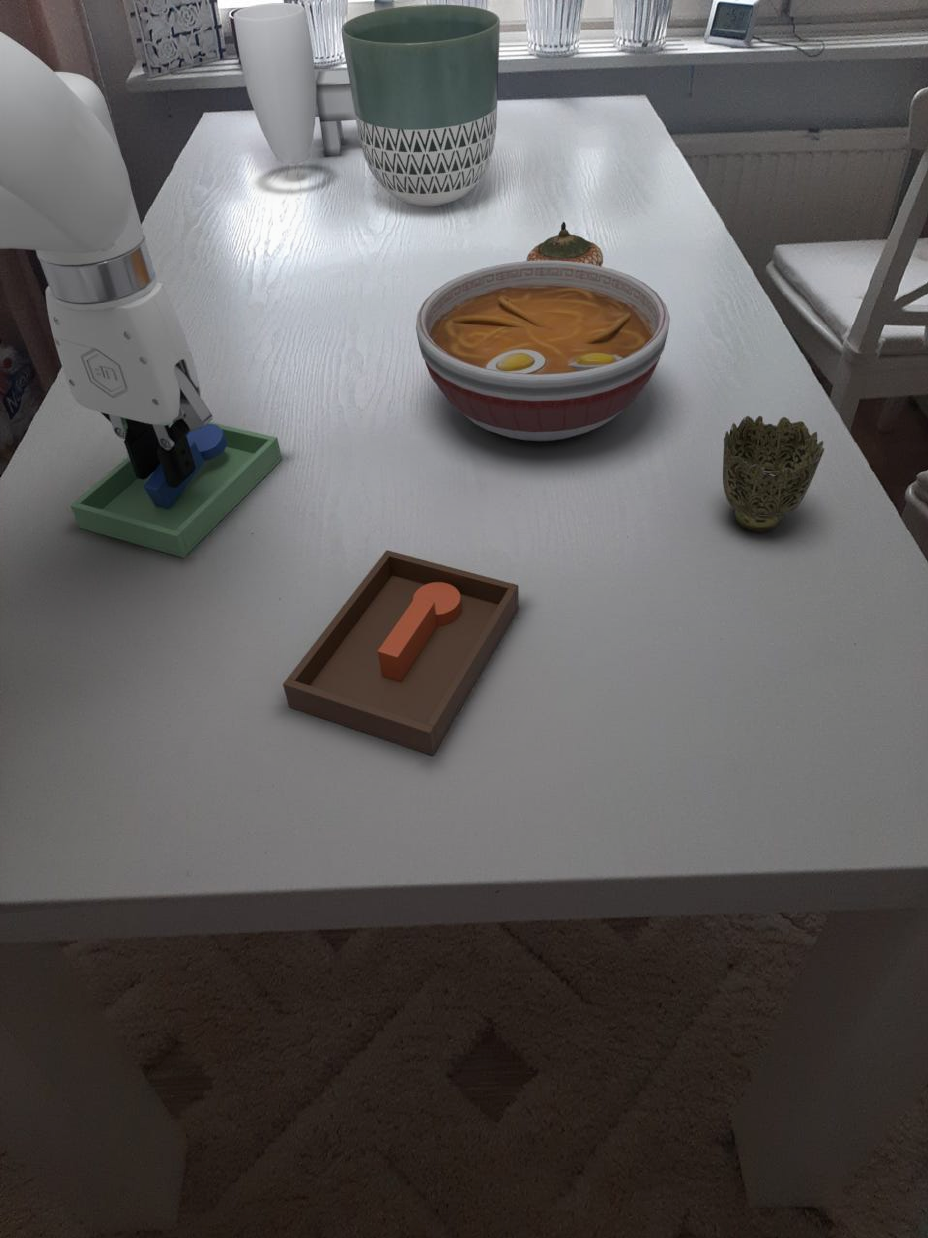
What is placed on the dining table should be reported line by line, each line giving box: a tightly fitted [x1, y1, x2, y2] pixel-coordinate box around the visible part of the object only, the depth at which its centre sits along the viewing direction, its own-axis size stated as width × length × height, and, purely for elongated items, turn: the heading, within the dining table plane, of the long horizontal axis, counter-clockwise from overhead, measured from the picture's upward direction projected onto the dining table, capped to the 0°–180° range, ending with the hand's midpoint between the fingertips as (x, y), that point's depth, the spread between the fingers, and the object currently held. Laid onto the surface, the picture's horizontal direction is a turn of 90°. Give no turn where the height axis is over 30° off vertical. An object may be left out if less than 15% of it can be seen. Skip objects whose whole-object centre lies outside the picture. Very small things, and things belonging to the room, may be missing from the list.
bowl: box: [415, 260, 671, 442], centre depth 88 cm, size 23×23×10 cm
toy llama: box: [315, 0, 396, 157], centre depth 142 cm, size 8×18×20 cm, turn 92°
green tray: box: [70, 421, 283, 559], centre depth 83 cm, size 15×11×2 cm
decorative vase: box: [722, 415, 825, 533], centre depth 75 cm, size 8×7×8 cm
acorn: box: [525, 221, 604, 267], centre depth 102 cm, size 8×8×10 cm
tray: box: [282, 550, 520, 756], centre depth 68 cm, size 15×11×2 cm
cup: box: [232, 2, 317, 165], centre depth 132 cm, size 10×10×22 cm
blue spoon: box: [143, 424, 227, 509], centre depth 83 cm, size 10×4×3 cm, turn 156°
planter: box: [341, 4, 501, 207], centre depth 124 cm, size 20×20×21 cm
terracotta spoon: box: [378, 582, 461, 682], centre depth 68 cm, size 10×4×3 cm, turn 156°
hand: (166, 472), depth 81 cm, fingers closed
